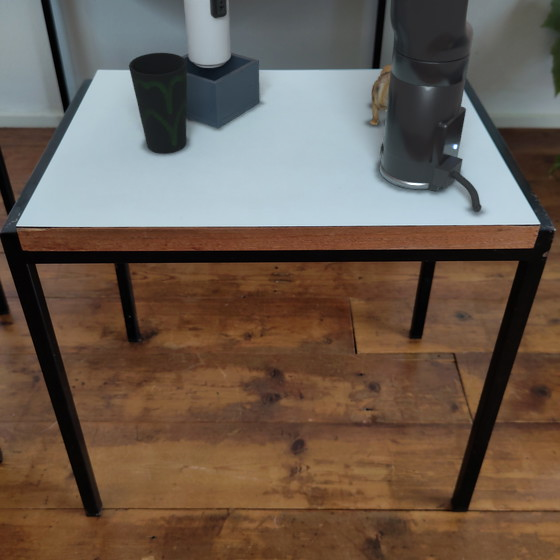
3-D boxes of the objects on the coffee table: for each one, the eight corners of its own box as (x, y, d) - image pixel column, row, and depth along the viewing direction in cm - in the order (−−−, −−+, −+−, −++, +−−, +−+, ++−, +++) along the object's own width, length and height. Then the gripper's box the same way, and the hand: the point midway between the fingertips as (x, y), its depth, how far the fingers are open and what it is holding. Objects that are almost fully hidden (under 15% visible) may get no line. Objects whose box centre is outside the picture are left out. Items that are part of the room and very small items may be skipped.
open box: (259, 103, 115) (259, 60, 110) (217, 128, 108) (215, 84, 104) (207, 86, 119) (204, 45, 115) (164, 110, 113) (159, 67, 108)
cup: (129, 151, 102) (118, 70, 95) (155, 128, 108) (145, 49, 100) (178, 161, 100) (170, 78, 93) (202, 136, 106) (196, 56, 98)
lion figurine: (406, 137, 106) (413, 78, 100) (369, 136, 106) (374, 77, 101) (399, 94, 117) (406, 39, 112) (366, 93, 118) (371, 38, 112)
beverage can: (234, 53, 111) (230, -28, 104) (227, 70, 106) (223, -14, 99) (193, 52, 112) (186, -30, 104) (184, 68, 107) (177, -16, 99)
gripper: (252, -115, 90) (255, 19, 101) (199, -134, 100) (206, -9, 110) (199, -108, 87) (207, 29, 98) (149, -128, 97) (161, 0, 107)
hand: (207, 9), depth 104 cm, fingers closed on beverage can, 6 cm apart
